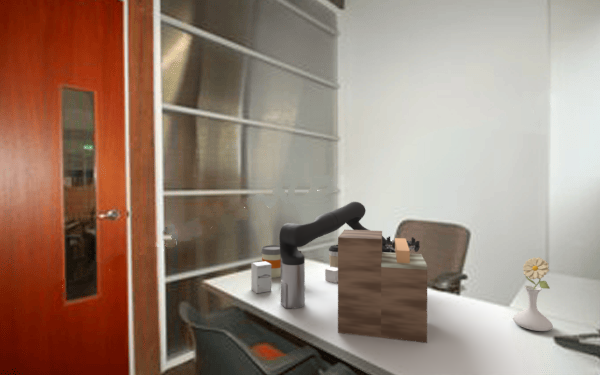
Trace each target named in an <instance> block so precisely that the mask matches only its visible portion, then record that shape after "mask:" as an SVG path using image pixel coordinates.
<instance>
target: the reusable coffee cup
mask: <svg viewBox="0 0 600 375" xmlns="http://www.w3.org/2000/svg"><path fill="white" fill-rule="evenodd" d="M261 254H262V256H261V262H264V261H266V262H268V263H270V264H271V279H272V278H273V279H274V278H281V257H280V244H279V245H278V244H277V245H276V244H273V245H272V244H270V245H264V246H261Z"/></svg>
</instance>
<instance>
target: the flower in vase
mask: <svg viewBox="0 0 600 375" xmlns="http://www.w3.org/2000/svg"><path fill="white" fill-rule="evenodd" d="M522 271H523V275H525V278H526V279H527V280H528V281H529V282H531V283H532V284H534V285H530V284H529V285H524V286H523V288H525V290H526V292H527V295H528V296H527V297H528V305H527V307H526V309H524V310H522V311H520V312H517V313H516V314H514V315H513V317H512V320H513V322H514V323H515V324H516V325H518V326H519V327H521V328H524V329H526V330H531V331H536V332H548V331H550V330H552V329H553V328H554V326H553V323H552V321H550V319H549V318H547V316H546V315H544V314H542V313H541V312H540V311H539V309H538V307H537V306H538V305H537V300H538V296H539V293H540V292H541V291H542V289H547V290H548V289H550V286H549V284H548V283H547V281H546V280H541V279H542V278H544V277H545V276H546V275H547V273H548V272H549V271H550V269H549V263H548V262H547V261H546V260H544V258H542V257H540V256H539V257H535V256H534V257H532V258H529V259H527V260H525V263H524V264H523V266H522ZM536 279H538V282H535V281H534V280H536ZM538 285H539V286H538Z"/></svg>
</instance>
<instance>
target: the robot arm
mask: <svg viewBox="0 0 600 375" xmlns="http://www.w3.org/2000/svg"><path fill="white" fill-rule="evenodd" d="M366 211H367V210H366V207H365V205H363V203H361V202H359V201H351V202H349V203H347V204H345V205H343V206H342V207H341V206H340V207H338V208H335V209H333V210H330V211H326V212H323V213H320V214H319V215H317V216H316V217H315V218H314V220H313V221H312V222H308V223H303V224H302V223H293V222H286V223H284V224H283V225H282V226H281V228H280V231H279V246H280V255H281V258H282V280H281V279H280V305H282V306H283V307H284V308H285V309H298V308H299V309H300V308H302V307H303V306H305V304H306V302H305V300H306V297H305V296H306V290H305V289H306V288H305V287H306V286H305V284H306V281H305V277H306V276H305V275H306V274H305V273H306V272H305V268H306V266H305V264H306V263H305V262H306V259H305V255H304V254H303V253H302V252H301V253H300V252H299V251H300V250H299V249H298V248H302V247H304V246H306V245H308V244H309V243H311V242H313V241H315V240H316V239H318V238H321V237H324V236H326V235H327V234H328V235H329V234H331V233H334V232H335V231H337V230H339V229H340V228H341V227H343V226H344V225H345V224H346V225H347V226H349V228H351V230H369V228H366V227H364V226H363V225H362V223H361V222H360V221H361V220H362V219H363V218H364V216H365V215H366ZM406 241H407V244H408V247H409V250H410V251H412V250H413V251H414V252H416V253H417V252H419V249H420V247H421V246H420V241H419V240H416V238H414V237H413V236H411V240H406ZM382 252H388V253H396V252H395V239H391V236H390V235H388V237H386V238H385V237H384V235H382Z"/></svg>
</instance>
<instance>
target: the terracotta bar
mask: <svg viewBox="0 0 600 375" xmlns="http://www.w3.org/2000/svg"><path fill="white" fill-rule="evenodd" d="M394 241H395V252H396V260H397V263H410V254H411V252H410V251H411V250H409V247H408V244H407V241H408V240H407V238H404V237H401V238H400V237H395V238H394Z"/></svg>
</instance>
